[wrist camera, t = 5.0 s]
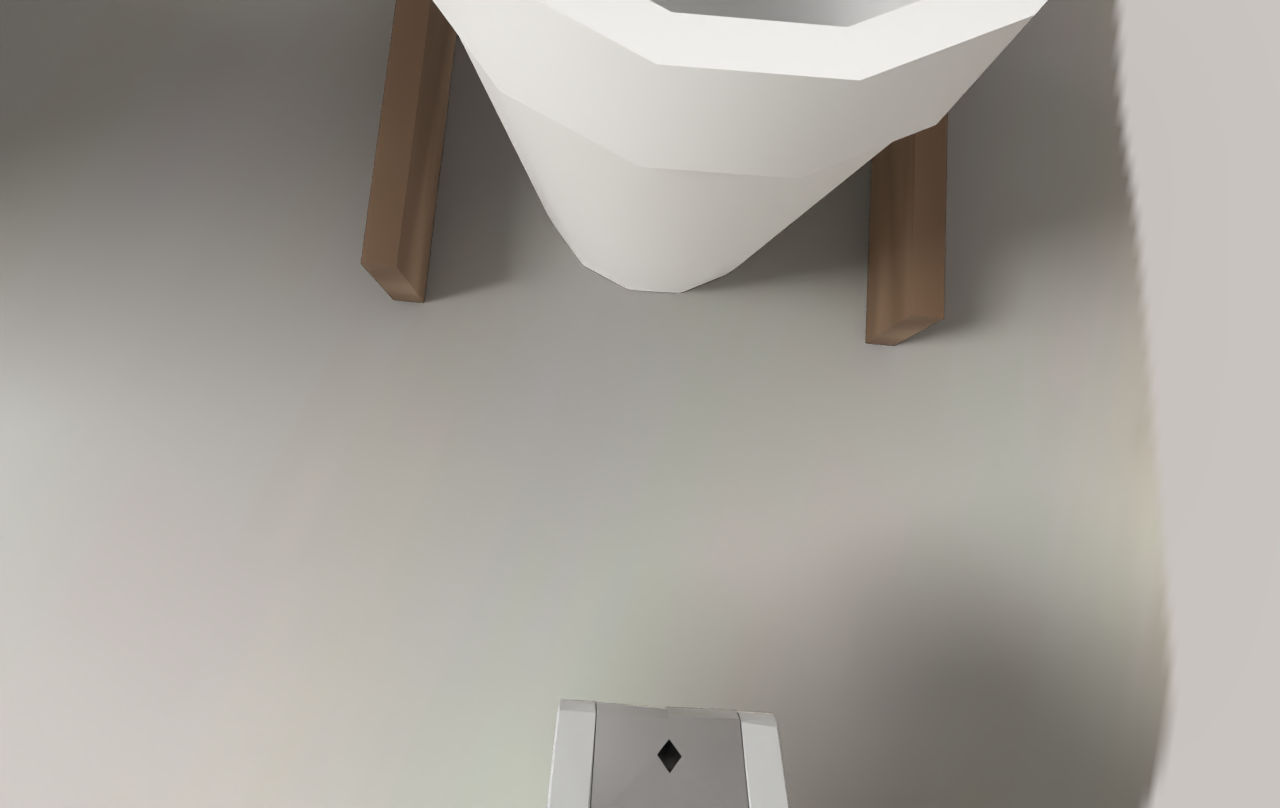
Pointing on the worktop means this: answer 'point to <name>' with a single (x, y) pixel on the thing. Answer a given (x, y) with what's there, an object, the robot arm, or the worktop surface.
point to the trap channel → (411, 163)
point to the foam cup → (713, 111)
